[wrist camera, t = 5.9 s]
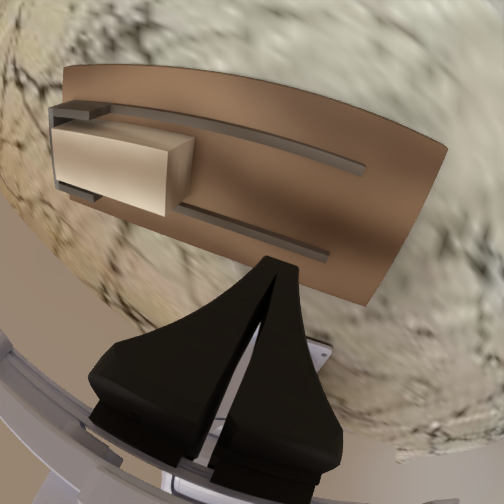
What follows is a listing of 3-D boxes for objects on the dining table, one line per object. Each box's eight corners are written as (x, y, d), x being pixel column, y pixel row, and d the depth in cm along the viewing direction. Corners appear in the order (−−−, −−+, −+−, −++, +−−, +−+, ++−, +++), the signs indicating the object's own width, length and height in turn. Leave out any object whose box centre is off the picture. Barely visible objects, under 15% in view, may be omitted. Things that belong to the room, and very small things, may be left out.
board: (365, 299, 20) (364, 333, 18) (75, 195, 23) (51, 212, 21) (443, 145, 13) (463, 163, 10) (71, 65, 16) (38, 73, 13)
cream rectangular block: (188, 195, 19) (164, 216, 16) (82, 164, 20) (56, 179, 18) (195, 137, 16) (168, 151, 14) (81, 116, 18) (51, 128, 15)
